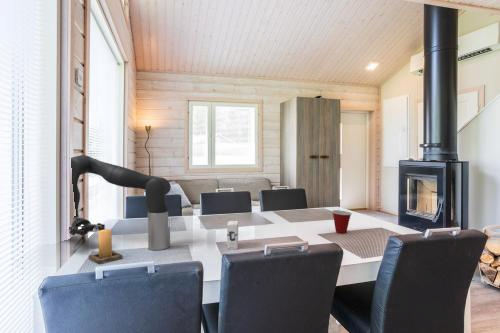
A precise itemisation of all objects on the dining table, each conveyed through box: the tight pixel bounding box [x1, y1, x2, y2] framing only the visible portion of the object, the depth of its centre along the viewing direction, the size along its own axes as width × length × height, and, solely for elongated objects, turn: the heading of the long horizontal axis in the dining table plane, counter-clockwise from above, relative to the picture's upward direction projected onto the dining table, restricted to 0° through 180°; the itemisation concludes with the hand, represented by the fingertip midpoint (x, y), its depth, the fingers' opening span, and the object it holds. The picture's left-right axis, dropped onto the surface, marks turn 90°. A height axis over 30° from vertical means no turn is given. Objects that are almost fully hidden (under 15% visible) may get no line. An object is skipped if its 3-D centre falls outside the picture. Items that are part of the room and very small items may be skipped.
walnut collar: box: [87, 250, 123, 265], centre depth 136 cm, size 10×10×2 cm
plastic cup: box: [331, 209, 353, 235], centre depth 181 cm, size 11×11×12 cm
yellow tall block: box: [98, 228, 113, 259], centre depth 136 cm, size 5×5×12 cm
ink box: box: [226, 220, 239, 250], centre depth 154 cm, size 8×5×12 cm, turn 179°
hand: (93, 231), depth 143 cm, fingers open, 8 cm apart
